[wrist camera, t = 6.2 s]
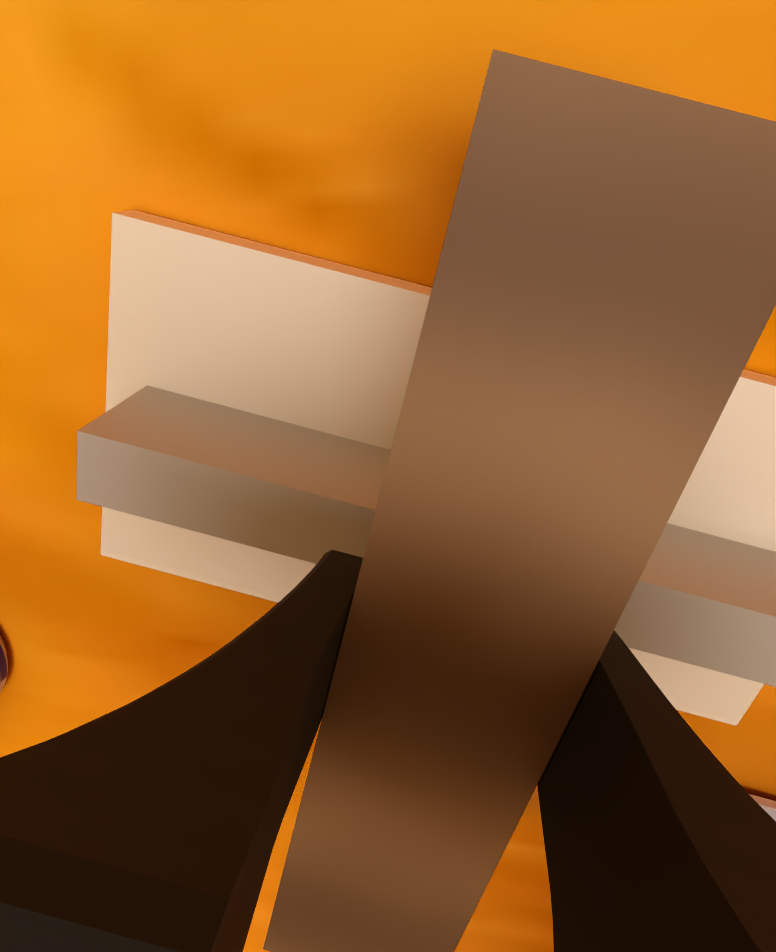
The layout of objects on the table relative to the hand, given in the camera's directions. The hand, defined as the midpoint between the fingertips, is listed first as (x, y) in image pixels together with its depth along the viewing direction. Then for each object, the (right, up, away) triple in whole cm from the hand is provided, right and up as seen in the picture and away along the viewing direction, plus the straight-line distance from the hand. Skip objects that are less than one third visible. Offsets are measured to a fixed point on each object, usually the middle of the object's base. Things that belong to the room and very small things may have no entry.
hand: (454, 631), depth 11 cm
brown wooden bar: (0, +1, +2) cm, 2 cm away
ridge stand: (+1, +3, +5) cm, 6 cm away
